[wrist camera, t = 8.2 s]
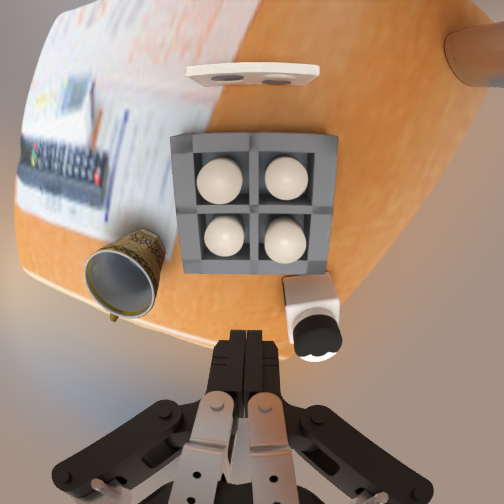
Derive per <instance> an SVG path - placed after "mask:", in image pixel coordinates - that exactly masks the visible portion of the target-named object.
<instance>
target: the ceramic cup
mask: <svg viewBox="0 0 504 504" xmlns="http://www.w3.org/2000/svg"><path fill="white" fill-rule="evenodd" d="M165 253H166V252H165V249H164V247H163V245H162V243H161V241H160V239H159V237H158V236H157V235H156V234H154V233H151V232H149V231H147V230H145V229H140V230H138V231H135V232H133V233H130V234H128V235H126V236H124V237H123V238H121V239H119V240H117V241H116V242H114V243H111V244H108V245H106V246H105V247H103V248H101V249H99V250H98V251H96V252H95V253H93V254H92V255H91V256H90V257H89V258H88V260H87V262H86V265H85V269H84V278H85V282H86V285H87V288H88V290H89V292H90V294H91V295H92V297H93V298H94V299H95V301H96V302H97V303H98V304H99V305H100V306H102V307H103V308H104V309H105V310H107V311H108V312H110V319H111V321H113V322H116V320H117V319H118V317H123V318H139V317H142V316H144V315H146V314H147V313H148V312H149V311H150V310H151V309H152V307H153V305H154V302H155V298H156V295H157V290H158V286H159V280H160V272H161V268H162V264H163V260H164V257H165Z"/></svg>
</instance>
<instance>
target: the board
mask: <svg viewBox="0 0 504 504" xmlns="http://www.w3.org/2000/svg"><path fill="white" fill-rule="evenodd" d="M170 144H171V159H172V173H173V185H174V196H175V206H176V215H177V224H178V233H179V241H180V248H181V256H182V263H183V270H184V273H194V274H325V271H326V264H327V257H328V249H329V241H330V233H331V224H332V214H333V204H334V193H335V181H336V167H337V150H338V136H334V135H329V134H321V133H305V132H282V131H231V132H207V133H192V134H181V135H177V136H172V137H170ZM280 155H288V156H292V157H294V158H295V159H297V160H298V161H299V162H300V163H301V164H302V165H303V167H304V168H305V170H306V172H307V175H308V183H307V187H306V189H305V191H304V192H303V193H302V194H301V195H300V196H298V197H297V198H295V199H291V200H282V199H278V198H276V197H275V196H273V195H272V194H271V193H270V192H269V190H268V189H267V187H266V183H265V169H266V166H267V164H268V163H269V162H270V160H272V159H273V158H275V157H277V156H280ZM218 157H227V158H231V159H233V160H234V161H236V162H237V163H238V164H239V166H240V167H241V169H242V172H243V182H242V186H241V190H240V192H239V194H238V195H237V197H236V198H235V199H234V200H232V201H231V202H229V203H226V204H214V203H211V202H209V201H207V200H206V199H204V198H203V197H202V195H201V194H200V192H199V190H198V187H197V177H198V174H199V172H200V171H201V169H202V168H203V167H204V166H205V165H206V164H207V163H209V162H210V161H211V160H213V159H215V158H218ZM218 213H234V214H236V215H238V216H239V217H240V218H241V219H242V221H243V223H244V226H245V234H244V241H243V245H242V247H241V249H240V250H239V251H238V252H237V253H236V254H234V255H231V256H219V255H216V254H214V253H212V252H211V251H210V250H209V249H208V248H207V246H206V244H205V240H204V235H205V231H206V229H207V227H208V225H209V223H210V220H211V219H212V218H213V217H214V216H215V215H216V214H218ZM282 216H286V217H291V218H293V219H295V220H296V221H297V222H298V223H299V224H300V226H301V228H302V231H303V233H304V236H305V239H306V249H305V252H304V253H303V255H302V256H301V257H300V258H299V259H298V260H296V261H294V262H292V263H286V264H283V263H278V262H275V261H274V260H272V259H271V258H270V257H269V256H268V255H267V253H266V250H265V238H264V232H265V229H266V226H267V225H268V223H269V222H270V221H272V220H273V219H275V218H277V217H282Z"/></svg>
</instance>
